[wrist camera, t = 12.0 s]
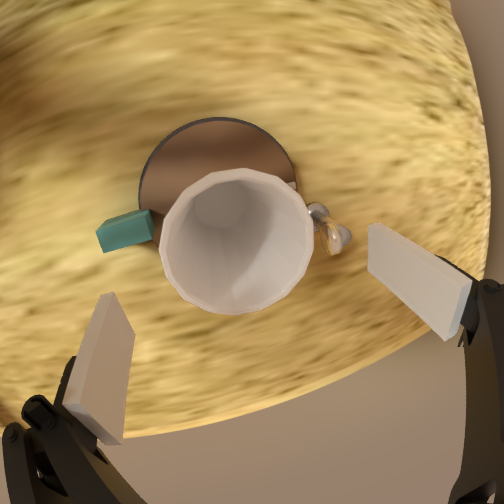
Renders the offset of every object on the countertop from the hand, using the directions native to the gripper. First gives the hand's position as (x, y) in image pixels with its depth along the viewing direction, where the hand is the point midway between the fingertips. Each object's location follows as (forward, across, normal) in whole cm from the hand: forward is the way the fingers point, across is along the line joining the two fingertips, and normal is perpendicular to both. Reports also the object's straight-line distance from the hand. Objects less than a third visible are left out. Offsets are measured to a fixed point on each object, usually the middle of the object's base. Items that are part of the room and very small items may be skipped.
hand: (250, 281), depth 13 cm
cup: (+18, 0, 0) cm, 18 cm away
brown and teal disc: (+19, -2, 0) cm, 19 cm away
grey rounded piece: (+20, +12, -5) cm, 23 cm away
